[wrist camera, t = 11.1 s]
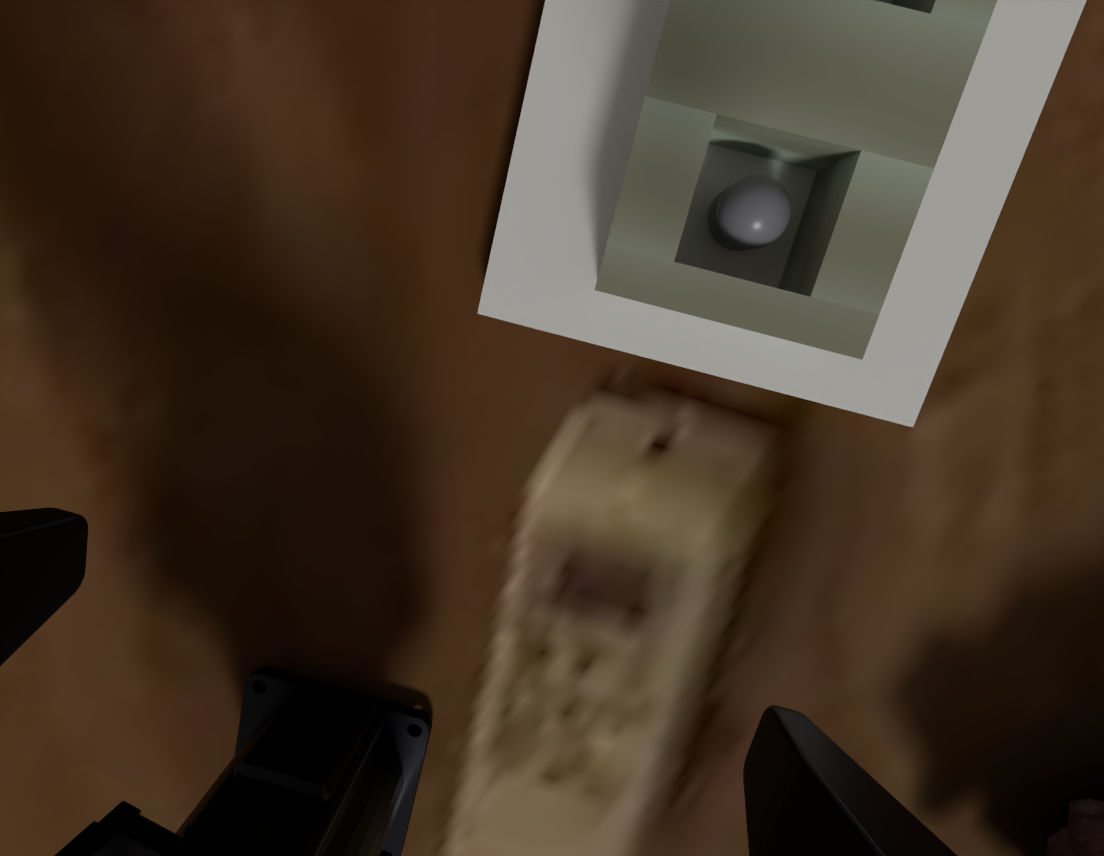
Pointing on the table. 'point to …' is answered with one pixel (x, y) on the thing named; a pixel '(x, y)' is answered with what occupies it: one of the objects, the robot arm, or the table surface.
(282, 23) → the table surface
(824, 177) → the bar
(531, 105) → the post board
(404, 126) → the table surface
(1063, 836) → the pine cone
